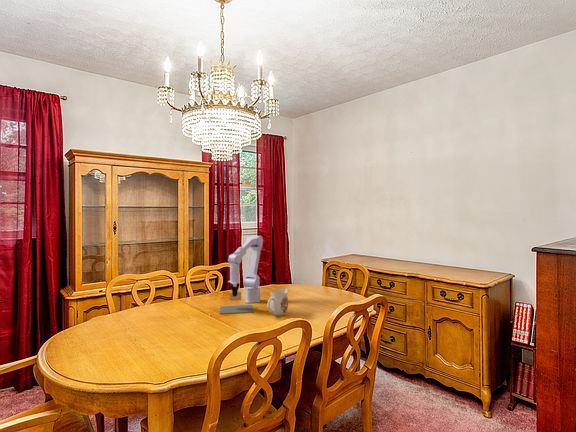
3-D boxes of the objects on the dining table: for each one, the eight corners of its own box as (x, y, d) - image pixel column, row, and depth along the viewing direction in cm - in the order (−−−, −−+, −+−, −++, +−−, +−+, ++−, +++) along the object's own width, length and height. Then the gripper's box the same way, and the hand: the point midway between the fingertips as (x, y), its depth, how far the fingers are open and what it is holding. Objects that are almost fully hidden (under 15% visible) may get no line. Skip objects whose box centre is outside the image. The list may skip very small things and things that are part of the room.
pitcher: (260, 316, 197) (260, 292, 197) (280, 308, 212) (280, 286, 211) (275, 320, 191) (275, 295, 190) (294, 312, 205) (294, 289, 205)
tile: (241, 299, 213) (241, 291, 213) (241, 300, 211) (241, 292, 211) (229, 299, 212) (229, 291, 212) (229, 300, 210) (229, 292, 210)
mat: (252, 305, 218) (252, 304, 218) (253, 312, 204) (253, 311, 204) (220, 307, 215) (220, 306, 215) (219, 314, 201) (219, 313, 201)
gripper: (228, 271, 218) (228, 292, 218) (228, 276, 203) (228, 299, 204) (239, 271, 219) (239, 292, 219) (240, 275, 204) (240, 298, 205)
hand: (234, 295), depth 211 cm, fingers closed on tile, 2 cm apart
